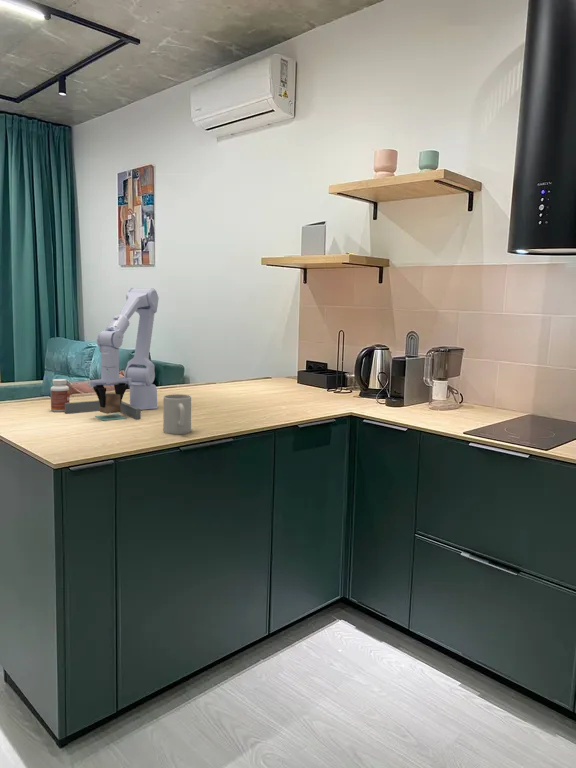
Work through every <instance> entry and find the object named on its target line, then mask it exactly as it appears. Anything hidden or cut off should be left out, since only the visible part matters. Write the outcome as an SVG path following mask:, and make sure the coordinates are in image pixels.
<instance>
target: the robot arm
mask: <svg viewBox="0 0 576 768" xmlns="http://www.w3.org/2000/svg"><path fill="white" fill-rule="evenodd" d="M159 298H160V297H159V294H158V292H157V290H156V289H155V288H137V287H136V288H135V287H130V288H129V289H128V290H127V292H126V294H125V299H126V301H125V303H124V305H123V307H122V309H121V311H120V313H119V314H115V315H114V316H113V317H112V319H111V321H110V322H109V324H108V325H107V327H106V329H105V330H102V331H101V332H99V333H98V335H97V338H96V344H97V346H98V351H99V353H100V365H101V367H100V370H101V371H100V372H101V373H100V375H101V378H100V379H99V378H98V379H92V380H88V385H87V386H88V387H90V388H92V389H93V390H94V392H95V394H96V396H97V399H98V400H99V402H100V407H102V408H105V394H107V388H106V386H113V387H114V393H116V394H120V406H121V401H123V398H124V395H125V392H126V391H127V389H128V386H129V404H130V405H133V406H135V407H137V408H140V409H141V410H142V411H144V410H153V409H158V408H159V407H158V389H157V386H156V385H155V384H154V381H155V378H156V373H155V366H156V365H155V364H154V363H153V362H152V361H151V360H150V359H149V358H150V350H151V343H152V336H153V335H152V334H153V328H154V321H155V314H156V313H157V312H158V306H159V305H158V304H159V300H160V299H159ZM135 313H137V314H138V316H139V317H138V318H139V319H138V326H137V335H136V340H135V349H134V356H133V357H132V358H131V359H130V360H128V361H127V363H126V367H125V370H124V373H123V374H124V375H123V376H124V377H120V348H121V346H122V345H123V341H124V340H123V339H124V335H125V333H126V331H127V329H128V328H129V326H130V321H129V320H131V318H132V316H133V315H134V314H135Z"/></svg>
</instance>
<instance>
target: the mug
mask: <svg viewBox="0 0 576 768" xmlns="http://www.w3.org/2000/svg"><path fill="white" fill-rule="evenodd" d="M162 401H163V411H162V412H163V413H162V414H163V422H162V423H163V425H162V426H163V428H162V430H163V433H165V434H169V435H185V434H189V433H191V432H192V396H191V395H188V394H179V393H177V394H176V393H175V394H166V395H164V396H163V400H162Z"/></svg>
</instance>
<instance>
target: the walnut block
mask: <svg viewBox="0 0 576 768" xmlns="http://www.w3.org/2000/svg"><path fill="white" fill-rule="evenodd" d="M99 412H100V413H103V414H105V415H110V414H118V413H121V407H120V394H116V393H115V392H110V393H109V392H108V393H107V392H106V394H105V408H102V407H100V411H99Z"/></svg>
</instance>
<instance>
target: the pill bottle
mask: <svg viewBox="0 0 576 768" xmlns="http://www.w3.org/2000/svg"><path fill="white" fill-rule="evenodd" d="M67 383H68V381H67V378H54V379H52V386H51V387H50V408H51V409H50V410H51V411H52V412H56V413H61V412H62V413H63V412H64V413H65V403H71V402H70V386H68V385H67Z"/></svg>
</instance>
